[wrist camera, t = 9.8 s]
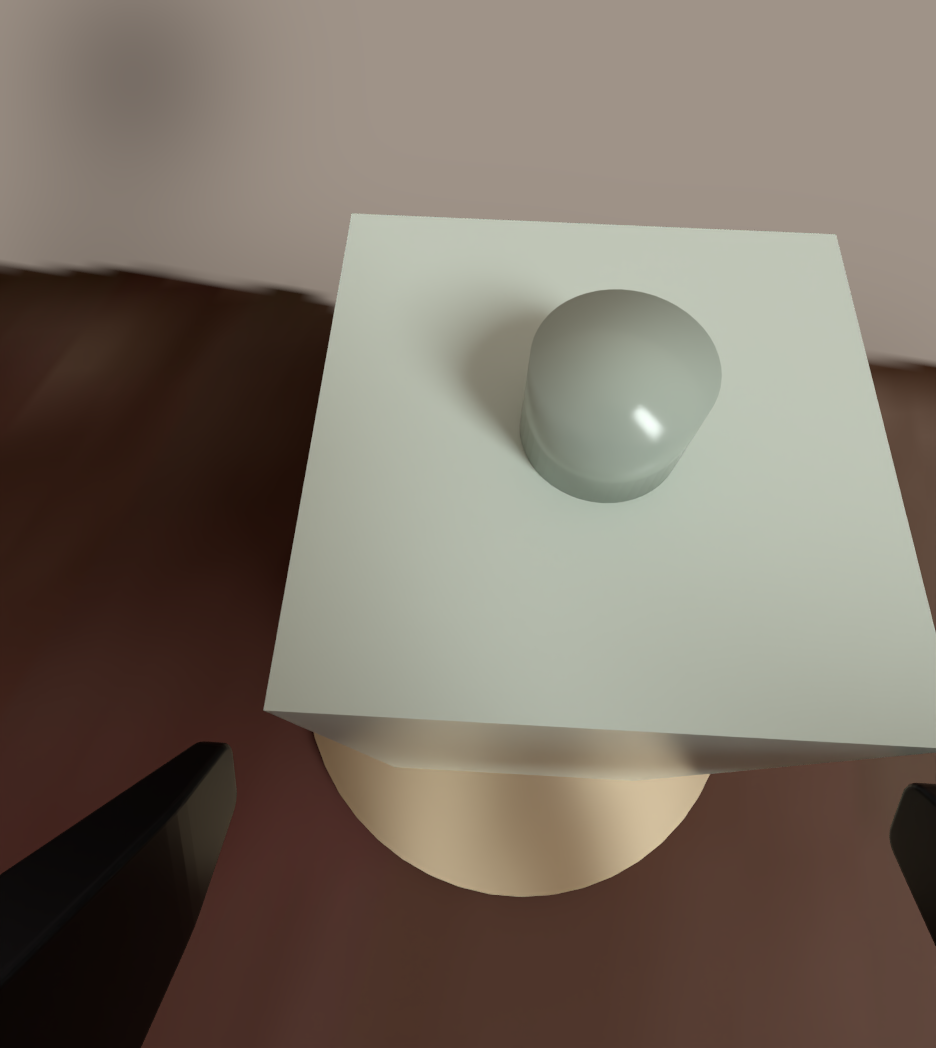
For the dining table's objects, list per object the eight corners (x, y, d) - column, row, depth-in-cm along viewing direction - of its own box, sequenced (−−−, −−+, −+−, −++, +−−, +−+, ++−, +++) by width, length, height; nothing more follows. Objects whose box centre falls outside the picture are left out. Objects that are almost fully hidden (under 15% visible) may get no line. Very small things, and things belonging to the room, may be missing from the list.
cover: (634, 780, 17) (1086, 739, 5) (394, 767, 17) (216, 689, 5) (623, 556, 19) (893, 147, 7) (415, 545, 19) (334, 124, 7)
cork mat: (389, 978, 15) (386, 984, 15) (265, 554, 20) (259, 548, 19) (801, 781, 17) (812, 780, 17) (603, 434, 22) (607, 424, 21)
